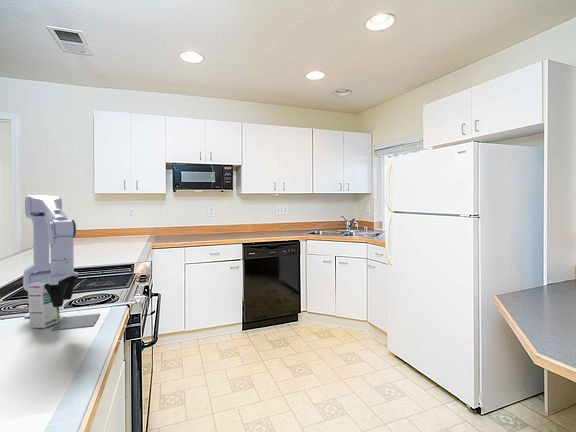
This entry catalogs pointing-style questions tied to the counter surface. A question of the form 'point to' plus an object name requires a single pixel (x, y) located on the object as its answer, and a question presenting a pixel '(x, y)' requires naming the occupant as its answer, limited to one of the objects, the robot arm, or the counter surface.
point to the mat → (76, 322)
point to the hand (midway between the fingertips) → (62, 302)
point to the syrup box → (41, 306)
